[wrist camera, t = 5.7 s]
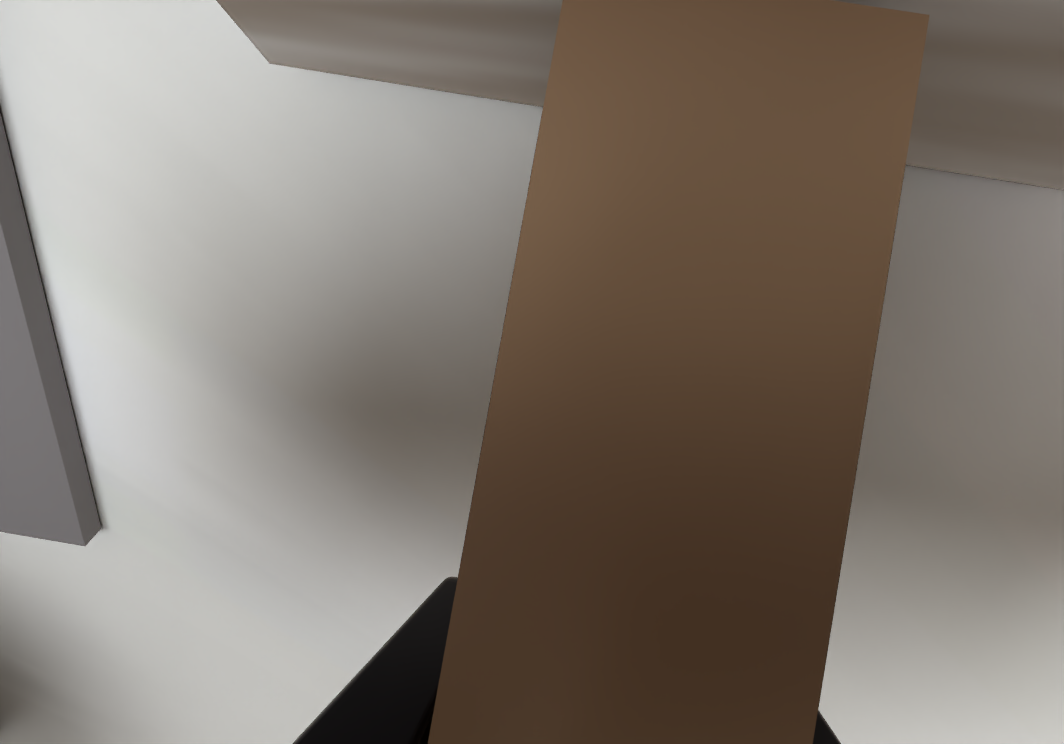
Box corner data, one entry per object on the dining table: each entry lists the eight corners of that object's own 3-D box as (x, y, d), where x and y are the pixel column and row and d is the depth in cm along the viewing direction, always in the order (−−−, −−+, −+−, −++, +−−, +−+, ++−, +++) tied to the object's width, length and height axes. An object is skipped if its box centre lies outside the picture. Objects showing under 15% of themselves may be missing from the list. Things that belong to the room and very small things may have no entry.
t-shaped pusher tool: (993, 968, 10) (1616, 1778, 4) (126, 785, 11) (-425, 1261, 5) (1124, 92, 11) (1844, -319, 5) (289, -36, 11) (-24, -545, 5)
